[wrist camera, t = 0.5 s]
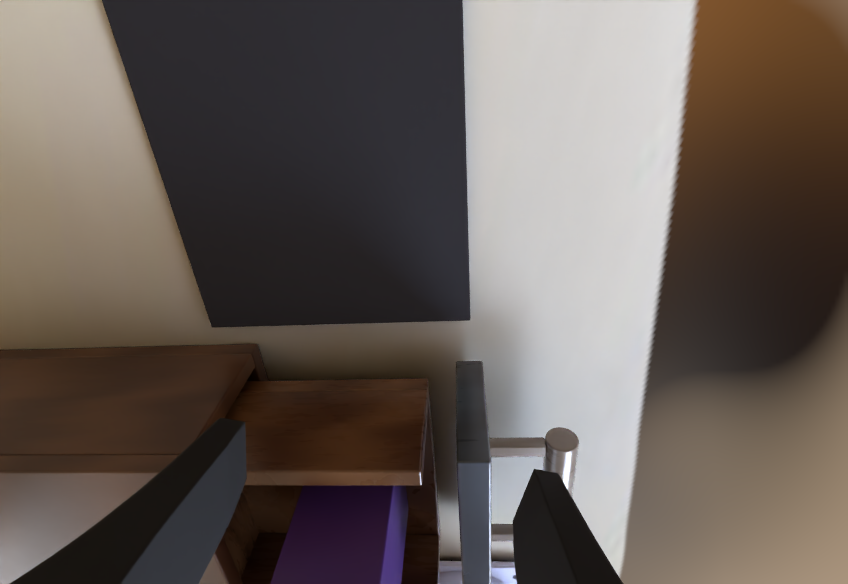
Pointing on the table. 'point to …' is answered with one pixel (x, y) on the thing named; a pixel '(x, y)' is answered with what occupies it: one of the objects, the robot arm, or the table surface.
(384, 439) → the drawer
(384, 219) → the mat
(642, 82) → the table surface
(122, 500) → the cabinet
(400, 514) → the snack box
